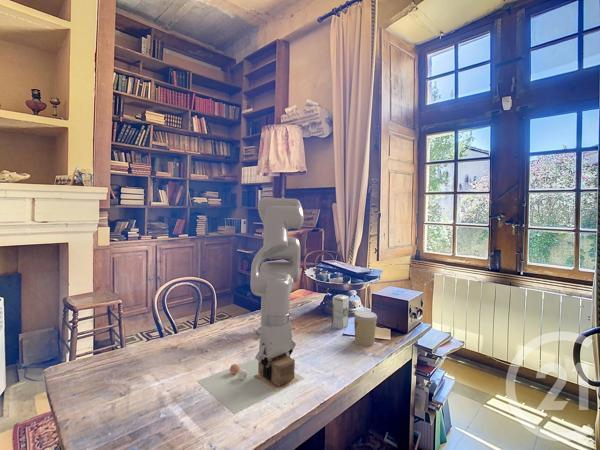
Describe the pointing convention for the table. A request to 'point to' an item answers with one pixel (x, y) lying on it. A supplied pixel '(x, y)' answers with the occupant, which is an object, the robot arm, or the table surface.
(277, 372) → the walnut cover
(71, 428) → the table surface
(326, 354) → the table surface
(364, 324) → the coffee cup
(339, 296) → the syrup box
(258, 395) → the sage board
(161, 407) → the table surface
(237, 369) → the terracotta ball
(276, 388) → the cork pad
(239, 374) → the cream ball
